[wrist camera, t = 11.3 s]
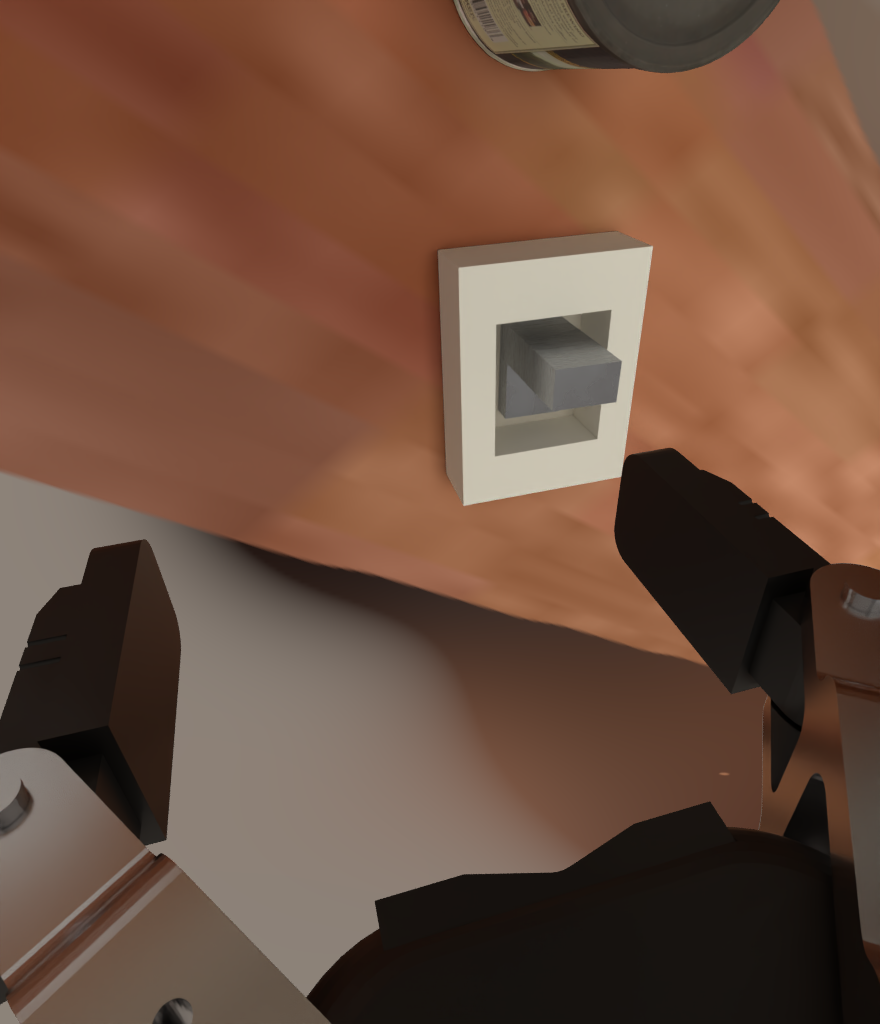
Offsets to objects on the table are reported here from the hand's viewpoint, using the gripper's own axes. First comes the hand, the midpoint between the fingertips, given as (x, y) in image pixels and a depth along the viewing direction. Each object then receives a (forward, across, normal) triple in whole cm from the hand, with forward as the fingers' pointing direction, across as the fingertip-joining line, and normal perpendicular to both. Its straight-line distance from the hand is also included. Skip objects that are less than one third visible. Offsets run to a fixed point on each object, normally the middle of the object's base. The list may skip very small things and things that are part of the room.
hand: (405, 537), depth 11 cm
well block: (+32, -15, +11) cm, 37 cm away
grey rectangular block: (+32, -15, +11) cm, 37 cm away
